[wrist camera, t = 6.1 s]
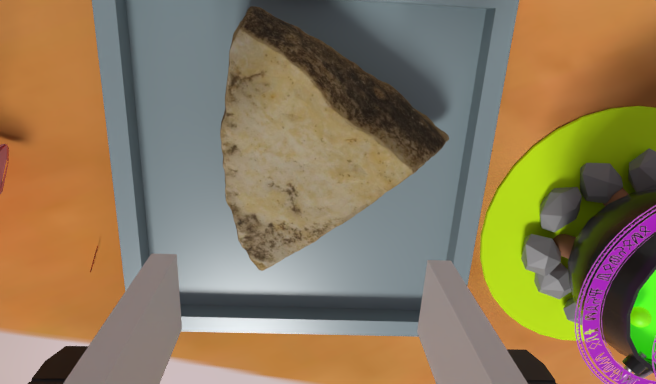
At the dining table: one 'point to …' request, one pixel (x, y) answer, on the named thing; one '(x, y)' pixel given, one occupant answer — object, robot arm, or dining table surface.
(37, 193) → the dining table surface
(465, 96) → the tray
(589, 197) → the toy cauldron
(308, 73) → the rock
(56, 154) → the dining table surface
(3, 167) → the flower sculpture
